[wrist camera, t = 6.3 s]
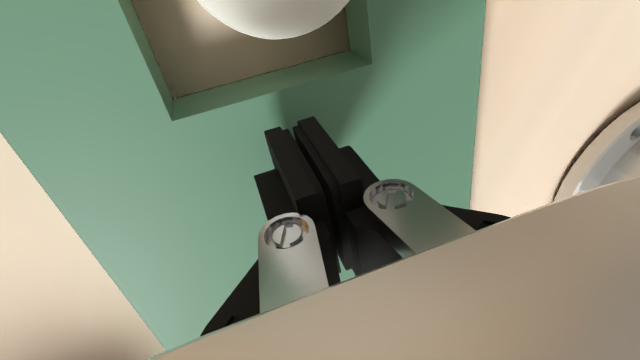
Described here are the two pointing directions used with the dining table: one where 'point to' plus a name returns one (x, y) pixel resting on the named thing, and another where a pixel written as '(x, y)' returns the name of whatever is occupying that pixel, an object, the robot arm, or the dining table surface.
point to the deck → (222, 135)
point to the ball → (274, 15)
